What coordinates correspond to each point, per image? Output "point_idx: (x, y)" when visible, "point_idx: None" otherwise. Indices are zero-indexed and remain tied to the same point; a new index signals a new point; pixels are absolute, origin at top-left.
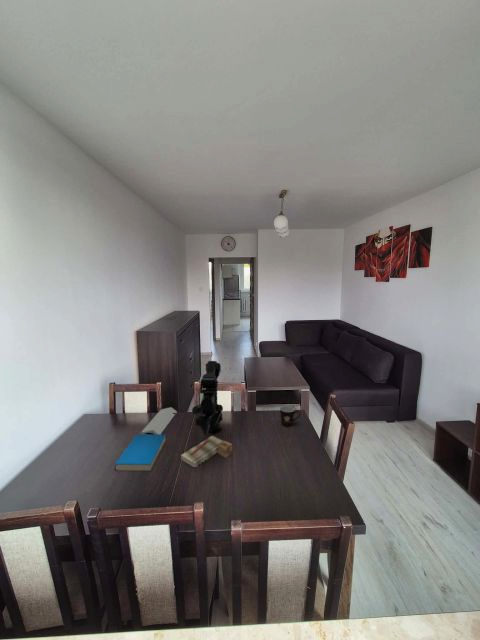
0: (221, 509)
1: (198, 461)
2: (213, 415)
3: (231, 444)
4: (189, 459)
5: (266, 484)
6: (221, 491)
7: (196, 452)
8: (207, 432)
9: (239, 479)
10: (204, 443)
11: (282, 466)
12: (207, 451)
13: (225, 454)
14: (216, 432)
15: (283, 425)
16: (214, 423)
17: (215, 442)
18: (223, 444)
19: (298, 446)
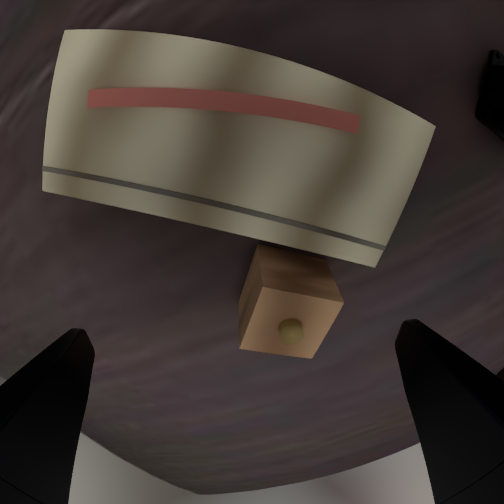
0: (17, 366)
1: (73, 195)
2: (501, 486)
3: (307, 356)
4: (50, 126)
5: (171, 437)
6: None
7: (143, 113)
8: (75, 408)
9: (136, 387)
10: (287, 115)
11: (275, 447)
12: (199, 194)
13: (239, 315)
14: (488, 126)
15: (498, 375)
16: (414, 377)
17: (351, 196)
18: (288, 317)
19: (387, 439)
